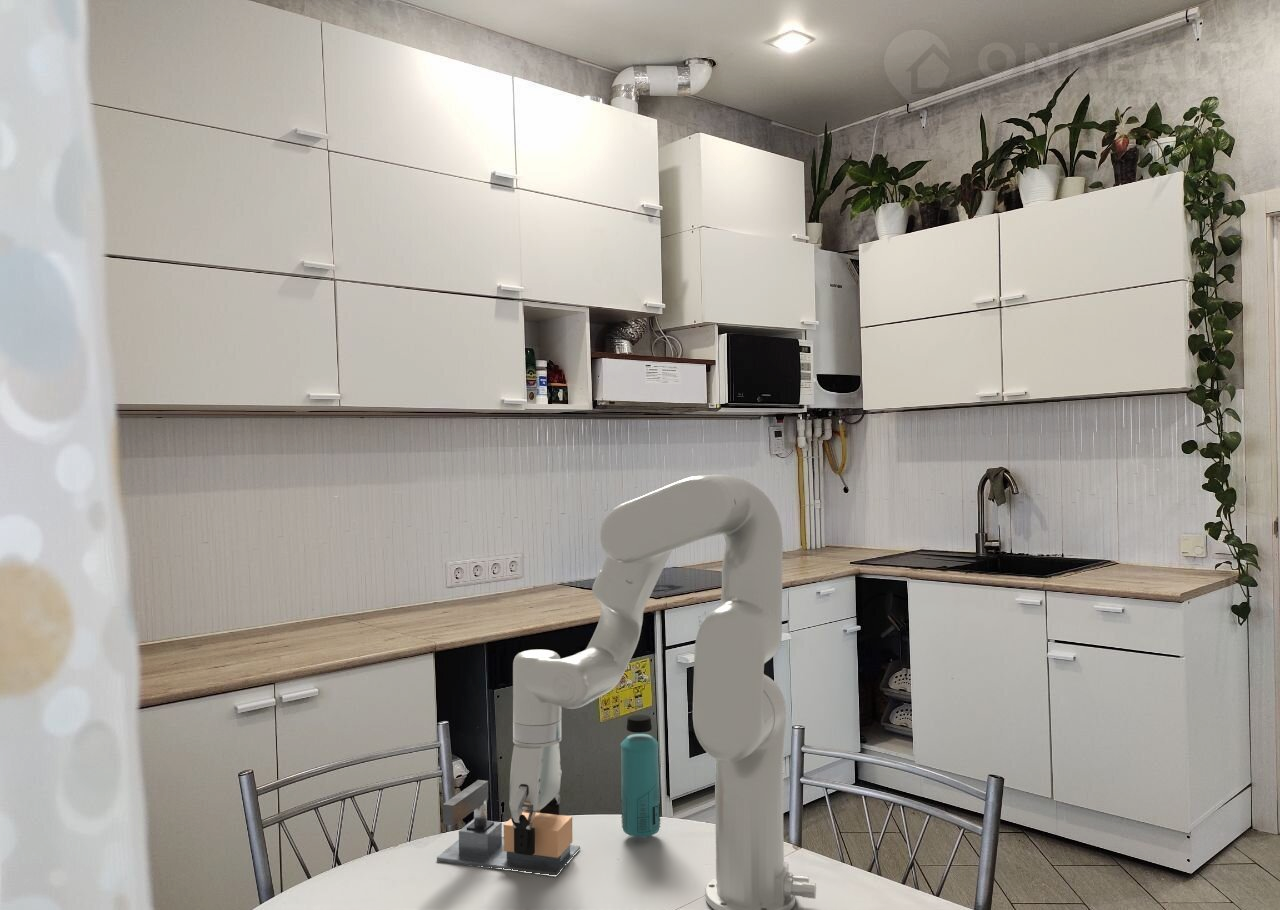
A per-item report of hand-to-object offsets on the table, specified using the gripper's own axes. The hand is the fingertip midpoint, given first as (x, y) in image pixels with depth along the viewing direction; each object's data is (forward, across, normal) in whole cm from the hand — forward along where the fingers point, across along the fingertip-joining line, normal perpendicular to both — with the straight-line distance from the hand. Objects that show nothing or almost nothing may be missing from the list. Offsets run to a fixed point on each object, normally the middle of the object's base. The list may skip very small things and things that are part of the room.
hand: (537, 840), depth 142 cm
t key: (-2, +5, -10) cm, 11 cm away
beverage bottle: (+3, -12, +13) cm, 18 cm away
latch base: (+3, 0, -5) cm, 6 cm away
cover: (+1, 0, 0) cm, 1 cm away
